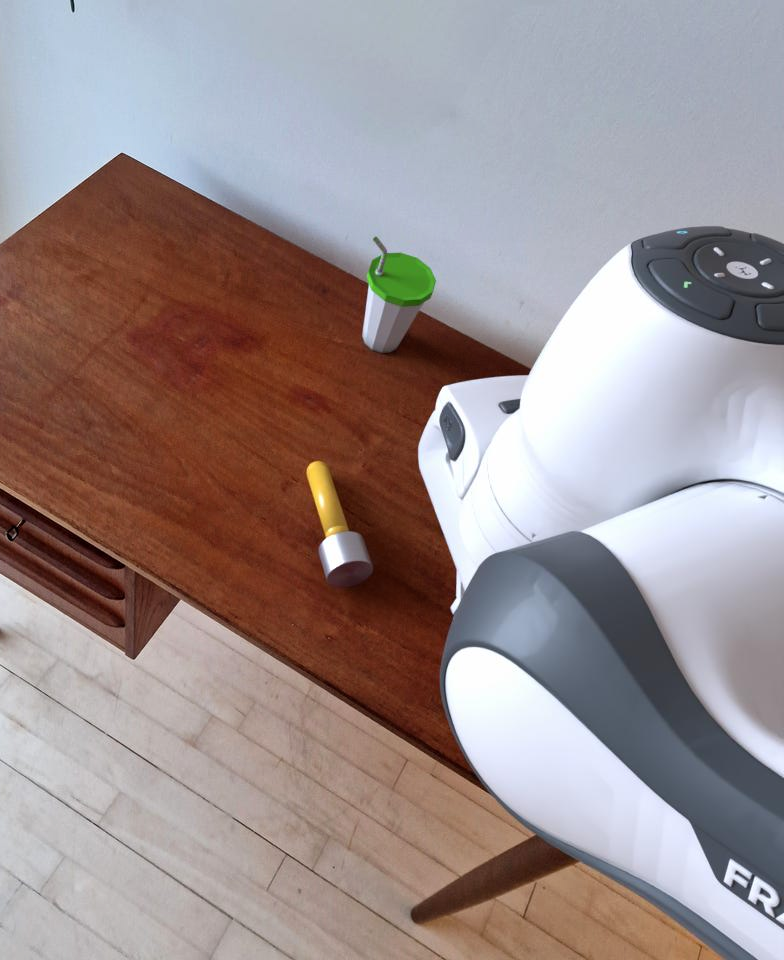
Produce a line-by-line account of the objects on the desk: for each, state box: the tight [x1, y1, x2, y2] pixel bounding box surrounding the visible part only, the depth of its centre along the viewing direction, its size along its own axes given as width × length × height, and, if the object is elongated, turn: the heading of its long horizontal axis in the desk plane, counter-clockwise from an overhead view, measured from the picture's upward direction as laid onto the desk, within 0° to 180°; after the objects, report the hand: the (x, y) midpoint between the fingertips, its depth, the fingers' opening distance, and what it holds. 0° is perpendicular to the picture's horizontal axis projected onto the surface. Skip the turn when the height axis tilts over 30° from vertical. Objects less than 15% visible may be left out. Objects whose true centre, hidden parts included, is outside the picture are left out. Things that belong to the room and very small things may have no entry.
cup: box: [361, 236, 437, 354], centre depth 97 cm, size 8×8×15 cm
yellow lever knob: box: [306, 460, 374, 589], centre depth 85 cm, size 5×5×14 cm
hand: (469, 628), depth 52 cm, fingers closed
